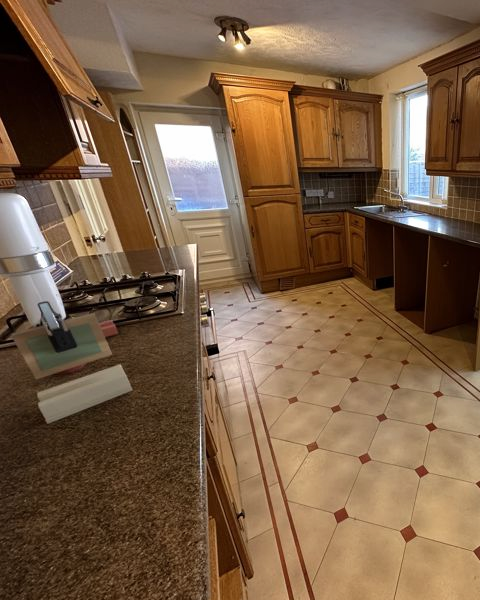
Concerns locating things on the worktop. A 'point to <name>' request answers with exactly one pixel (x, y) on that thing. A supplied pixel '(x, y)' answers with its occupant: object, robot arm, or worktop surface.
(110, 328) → the stand
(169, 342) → the worktop surface
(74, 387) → the holder
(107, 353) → the frame
